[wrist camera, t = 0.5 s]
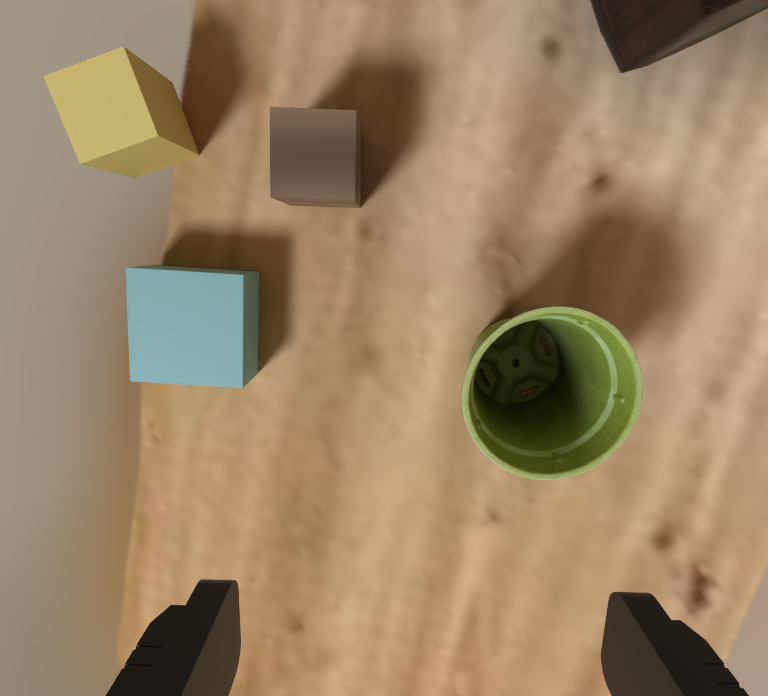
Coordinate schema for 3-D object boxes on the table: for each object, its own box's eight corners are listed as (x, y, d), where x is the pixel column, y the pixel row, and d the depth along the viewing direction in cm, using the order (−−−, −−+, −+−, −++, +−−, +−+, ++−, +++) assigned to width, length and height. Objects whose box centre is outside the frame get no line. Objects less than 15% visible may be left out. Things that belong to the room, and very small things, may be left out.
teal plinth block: (155, 265, 34) (125, 267, 30) (260, 271, 34) (243, 274, 30) (158, 366, 36) (130, 381, 32) (258, 372, 36) (242, 388, 32)
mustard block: (106, 106, 32) (43, 76, 26) (172, 82, 32) (123, 46, 26) (135, 178, 33) (80, 164, 27) (199, 155, 33) (158, 135, 27)
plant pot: (420, 334, 35) (430, 364, 26) (544, 265, 34) (597, 273, 25) (483, 447, 36) (512, 509, 28) (604, 384, 35) (672, 428, 27)
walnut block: (291, 131, 32) (269, 106, 26) (362, 134, 32) (356, 110, 26) (291, 205, 33) (270, 197, 27) (360, 207, 33) (354, 200, 27)
